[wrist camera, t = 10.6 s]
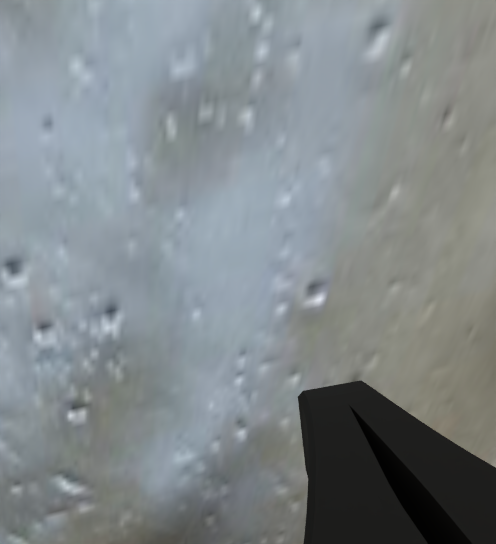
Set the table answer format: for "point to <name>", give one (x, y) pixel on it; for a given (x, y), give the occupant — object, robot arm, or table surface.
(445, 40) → the table surface
